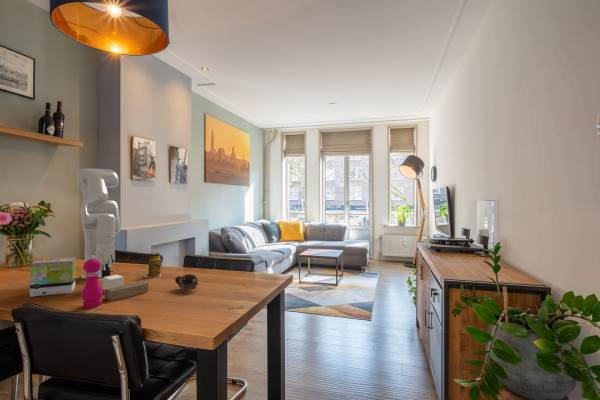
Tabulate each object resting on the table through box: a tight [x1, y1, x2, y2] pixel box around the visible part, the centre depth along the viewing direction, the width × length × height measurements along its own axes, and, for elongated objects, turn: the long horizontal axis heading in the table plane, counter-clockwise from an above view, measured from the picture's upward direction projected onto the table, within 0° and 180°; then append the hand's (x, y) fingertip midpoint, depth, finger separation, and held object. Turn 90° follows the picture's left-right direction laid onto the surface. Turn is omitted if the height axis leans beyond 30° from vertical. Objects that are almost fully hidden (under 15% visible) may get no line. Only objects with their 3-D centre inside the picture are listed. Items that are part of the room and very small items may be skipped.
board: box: [103, 280, 149, 302], centre depth 139 cm, size 6×16×4 cm, turn 144°
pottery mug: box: [174, 273, 199, 294], centre depth 147 cm, size 12×10×8 cm
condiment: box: [143, 252, 163, 278], centre depth 173 cm, size 7×8×12 cm
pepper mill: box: [81, 255, 104, 309], centre depth 125 cm, size 7×7×20 cm
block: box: [102, 274, 125, 291], centre depth 147 cm, size 7×6×6 cm
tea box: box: [29, 257, 77, 298], centre depth 142 cm, size 15×10×15 cm
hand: (106, 277), depth 151 cm, fingers closed
